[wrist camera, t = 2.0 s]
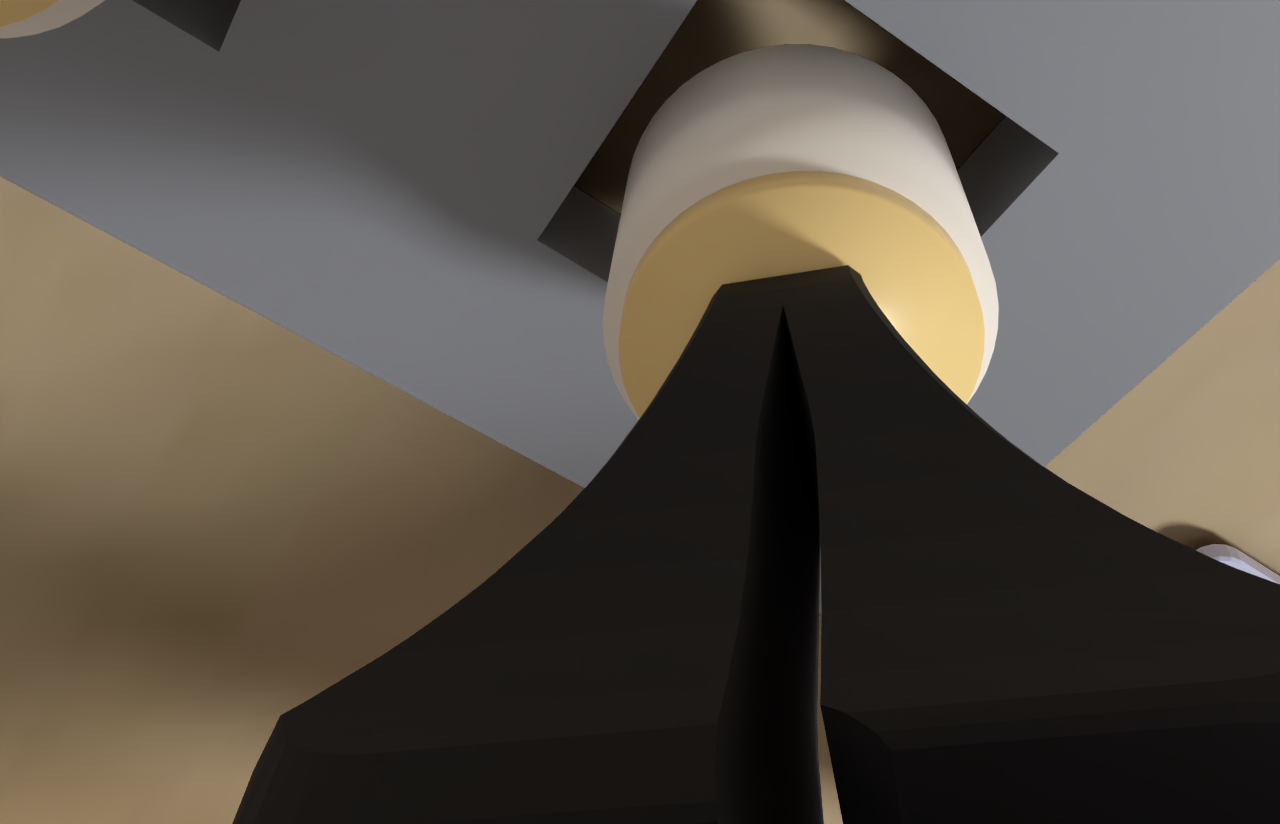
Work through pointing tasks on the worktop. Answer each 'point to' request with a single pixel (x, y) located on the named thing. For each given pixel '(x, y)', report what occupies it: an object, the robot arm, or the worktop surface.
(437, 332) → the button board
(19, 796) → the worktop surface
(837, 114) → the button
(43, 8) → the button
